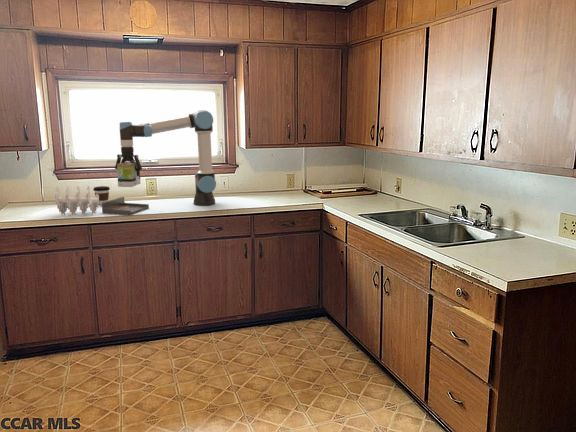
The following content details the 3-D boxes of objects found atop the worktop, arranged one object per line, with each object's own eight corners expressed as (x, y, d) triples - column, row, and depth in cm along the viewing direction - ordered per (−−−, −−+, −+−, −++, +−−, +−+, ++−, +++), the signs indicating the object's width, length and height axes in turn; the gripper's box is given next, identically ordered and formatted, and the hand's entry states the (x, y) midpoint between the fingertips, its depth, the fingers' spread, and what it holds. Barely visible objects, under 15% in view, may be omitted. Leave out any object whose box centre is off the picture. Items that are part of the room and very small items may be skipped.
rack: (148, 208, 319) (148, 198, 318) (129, 215, 299) (129, 204, 297) (122, 206, 325) (122, 196, 323) (102, 213, 304) (101, 202, 302)
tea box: (133, 187, 299) (132, 163, 296) (117, 187, 300) (116, 163, 296) (141, 183, 314) (139, 161, 311) (126, 183, 314) (124, 161, 311)
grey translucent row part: (97, 220, 302) (55, 220, 297) (101, 204, 316) (60, 203, 310) (94, 197, 291) (50, 196, 286) (98, 181, 305) (56, 180, 299)
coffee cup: (105, 206, 327) (104, 188, 324) (91, 205, 329) (89, 188, 327) (114, 203, 337) (112, 186, 335) (100, 202, 340) (98, 185, 337)
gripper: (146, 146, 302) (148, 180, 307) (114, 145, 308) (117, 179, 313) (140, 147, 295) (142, 182, 299) (107, 146, 301) (109, 180, 306)
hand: (129, 180), depth 306 cm, fingers closed on tea box, 11 cm apart
